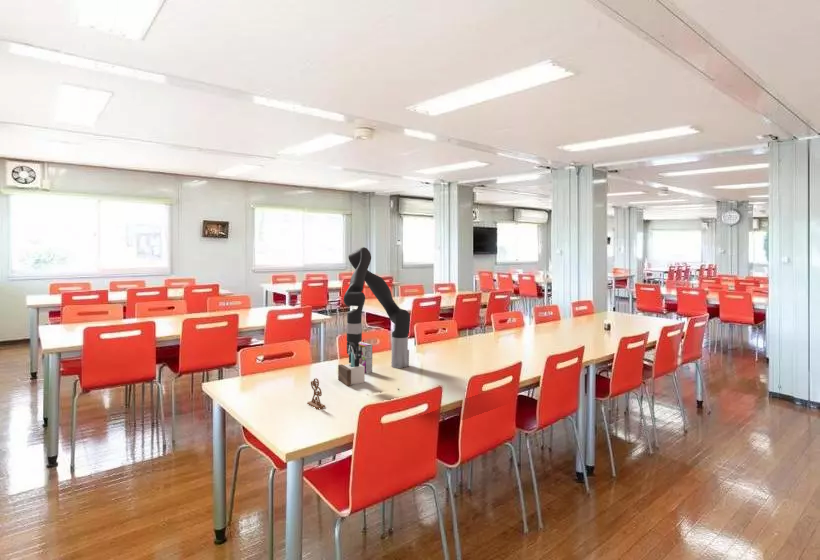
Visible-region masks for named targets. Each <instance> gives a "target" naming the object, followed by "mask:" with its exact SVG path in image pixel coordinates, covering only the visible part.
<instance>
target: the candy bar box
mask: <svg viewBox="0 0 820 560" xmlns="http://www.w3.org/2000/svg"><path fill="white" fill-rule="evenodd" d="M359 346H362V358H360V359H359V364H361V365H362V366H364V367H365V374H369V373H372V372H373V344H371V343H368V342H367V343H366V342H363V341H361V342H359Z"/></svg>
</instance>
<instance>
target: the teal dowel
mask: <svg viewBox="0 0 820 560" xmlns="http://www.w3.org/2000/svg"><path fill="white" fill-rule="evenodd" d="M350 364H351V367H355V357H354V355H353V352H351V363H350Z"/></svg>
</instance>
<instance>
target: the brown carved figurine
mask: <svg viewBox="0 0 820 560" xmlns="http://www.w3.org/2000/svg"><path fill="white" fill-rule="evenodd" d="M319 386H320V380H319V378H313V380H311V381H310V387H311V389H312V390H313V395H312V397H311V398H312V399H311V401H307V402H306V405H307V404H309V405H311V406H313V407H315V408H317V409H318V410H320V409H319V408H322V409H324V408H323V407H325V408H326V405H325V404H323V403H321V399H320V397H322V396H323V394H322V393H323V392H322V389H321V387H319ZM309 405H308V406H309ZM311 406H310V407H311ZM313 407H312V408H313ZM315 408H314V409H315ZM317 409H316V410H317Z"/></svg>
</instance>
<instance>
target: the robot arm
mask: <svg viewBox="0 0 820 560" xmlns="http://www.w3.org/2000/svg"><path fill="white" fill-rule="evenodd" d="M371 260H372V254H371V252H370V250H369V249H368V248H367V247H363V246H362V247H360V248H357V249H356V250H354V251H352V252H350V253H349V254H348V261H349V263H350V265H352V266H351V267H353V268H354V272H353V273H352V275H351V277H350V282H349V285H348V288H347V290H346V291H345V293H344V295H343V304H344V305H345V306H348V307H357V308H356V309H354V310H349V311H348V312H347V314H346V316H347V318H346V321H347V322H346V354H347V355H348V364H351V352H353V355H354V357H355V367H358V366H359V359H360V358H362V346H359V342H363V340H362V339H363V336H362V335H363V333H362V332H363V327H362V314H363V310H364V309H363V308H364V305H365V302H366V295H365V293H364V292H363V290H364V284H365V283H366V285H367V286H368V288H369V289H370V291H371V293H372V295H374V297H375V298H376V299H377V301H378V302H379V304H380V305H381V307H383V309H384V310H385V312H386V314H387V316H388V318H389V320H390V321H391V322H392V323H393V324H395V327H394V330H393V331H392V332H391V363H390V364H391V365H390V366H391V367H392V368H396V369H404V368H407V367H410V350H409V347H408V346H409V345H408V343H409V342H408V341H409V333H410V325H411V316H410V312H409V311H408V310H406V309H402V308H400V307H399V306H398V304H397V303H396V302H395V300H394V298H393V296H392V291H391V289H390V286H388V283H387V282H386V280H384V278H383V277H381V276H379V275H378V274H375V273H373V272H371V271H369V267H370V264H371ZM403 367H404V368H403Z"/></svg>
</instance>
